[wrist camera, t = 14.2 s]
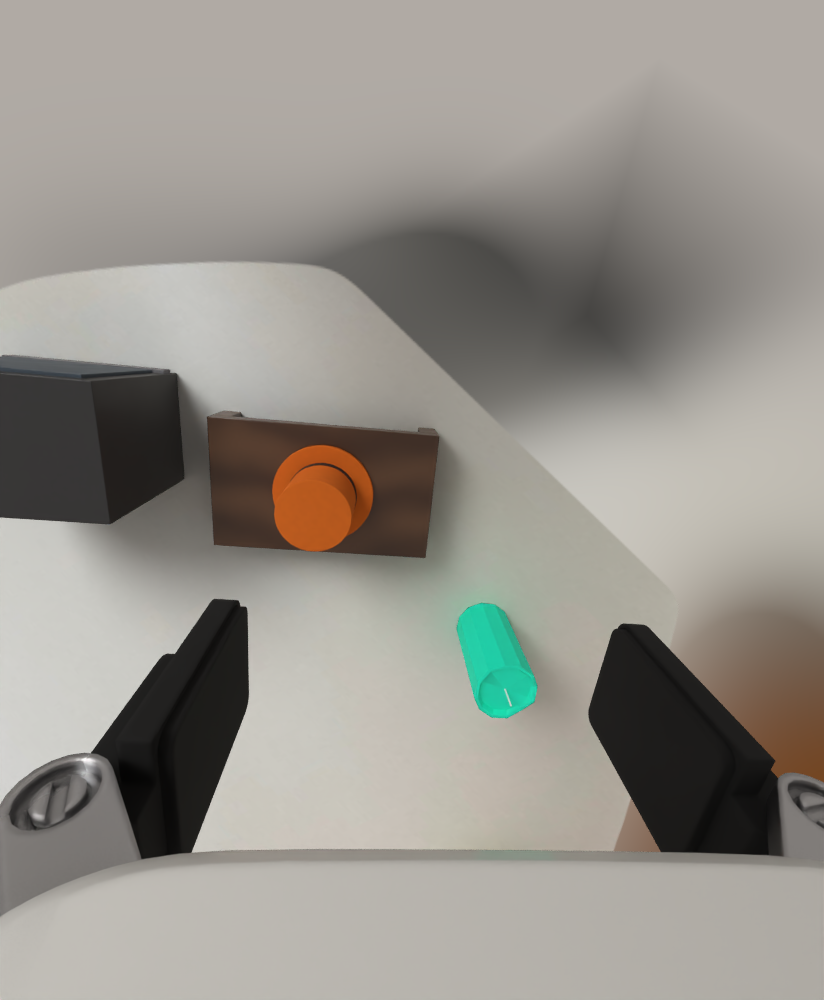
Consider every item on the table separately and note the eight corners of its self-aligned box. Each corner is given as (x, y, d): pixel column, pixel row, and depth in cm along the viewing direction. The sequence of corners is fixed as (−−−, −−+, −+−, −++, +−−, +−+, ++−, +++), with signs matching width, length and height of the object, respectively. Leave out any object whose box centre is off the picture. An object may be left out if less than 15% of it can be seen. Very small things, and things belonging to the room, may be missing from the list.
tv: (11, 354, 38) (-150, 354, 27) (176, 369, 39) (90, 376, 28) (32, 468, 41) (-103, 511, 30) (184, 479, 42) (110, 524, 31)
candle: (458, 650, 50) (479, 735, 39) (454, 606, 49) (475, 682, 37) (508, 644, 51) (544, 727, 39) (507, 599, 49) (544, 674, 37)
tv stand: (223, 410, 40) (206, 416, 37) (434, 428, 42) (439, 436, 38) (228, 528, 44) (213, 545, 40) (422, 541, 46) (425, 558, 42)
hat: (273, 440, 38) (253, 455, 32) (376, 449, 38) (374, 465, 33) (273, 535, 40) (255, 565, 35) (370, 541, 41) (367, 571, 35)
